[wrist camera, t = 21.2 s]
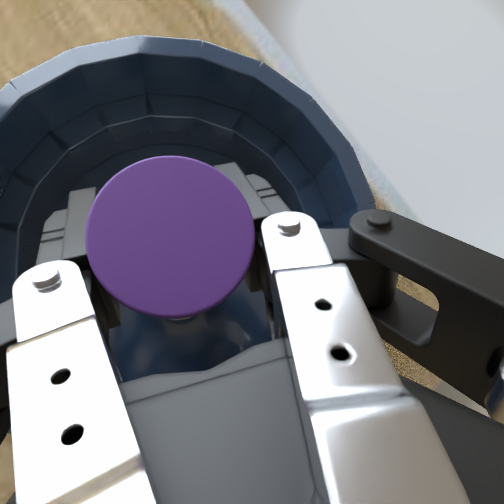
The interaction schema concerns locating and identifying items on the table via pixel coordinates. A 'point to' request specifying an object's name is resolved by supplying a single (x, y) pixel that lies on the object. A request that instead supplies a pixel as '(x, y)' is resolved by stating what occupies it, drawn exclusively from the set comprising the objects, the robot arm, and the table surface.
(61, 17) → the table surface
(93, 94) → the bowl
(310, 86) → the table surface
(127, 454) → the robot arm
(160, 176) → the glue stick
